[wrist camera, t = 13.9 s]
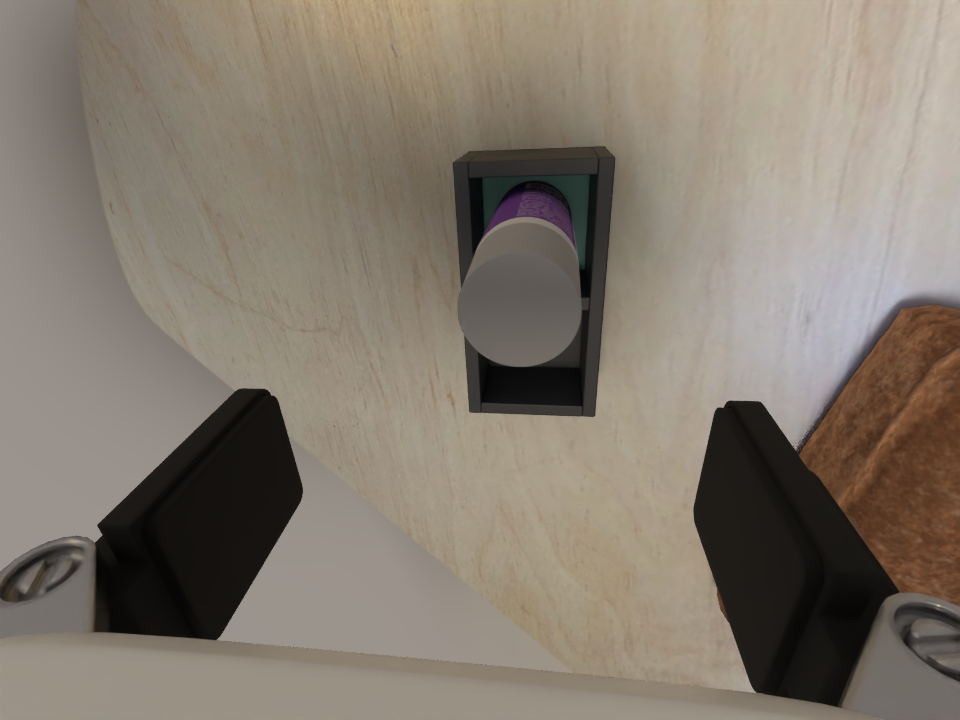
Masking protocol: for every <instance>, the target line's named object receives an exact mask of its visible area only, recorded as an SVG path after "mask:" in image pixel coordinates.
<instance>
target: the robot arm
mask: <svg viewBox="0 0 960 720" xmlns="http://www.w3.org/2000/svg"><path fill="white" fill-rule="evenodd" d="M302 494H303V488H302V483H301V479H300V476H299V472H298V469H297V466H296V462H295V458H294V455H293V451H292V448H291V444H290V441H289V437H288V434H287V430H286V427H285V423H284V420H283V416H282V413H281V409H280V406H279V402H278V400H277V398H276V397H275V396H271V394H270V392H269V391H268V390H266V389H238V390H237V391H235V392H234V393H233V394H232V395H231V396H230V397H229V398H228V399H227V400H226V401H225V402H224V403H223V404H222V405H221V406H220V407H219V408H218V409H217V410H216V411H215V412H214V413H213V414H211V415H210V416H209V417H208V418H207V419H206V420H205V421H204V422H203V423H202V424H201V425H200V426H199V427H198V428H197V429H196V430H195V431H194V432H193V433H192V434H191V435H190V436H189V437H188V438H187V439H186V440H185V441H184V442H183V443H182V444H181V445H179V447H177V448H176V449H175V450H174V451H173V452H172V453H171V454H170V455H169V456H168V457H167V458H166V459H165V460H164V461H163V462H162V463H161V464H160V465H159V466H158V467H157V468H156V469H155V470H154V471H153V472H152V473H151V474H149V475H148V476H147V477H146V478H145V479H144V480H143V481H142V482H141V483H140V484H139V485H138V486H137V487H136V488H135V489H134V490H133V491H132V492H131V493H130V494H129V495H128V496H127V497H126V498H125V499H124V500H123V501H122V502H121V503H120V504H118V505H117V506H116V507H115V508H114V509H113V510H112V511H111V512H110V513H109V514H108V515H107V516H106V517H105V518H104V519H103V520H102V521H101V522H100V523H99V524H98V525H97V526H98V528H99V529H100V531H101V533H102V537H100V538H99V539H98V541H96V542H95V543H94V542H93V541H92V540H90V539H89V538H87V537H81V536H71V537H63V538H59V539H57V540H53V541H49V542H47V543H44V544H42V545H40V546H38V547H36V548H33V549H31V550H30V551H28V552H26V553H25V554H23V555H21V556H20V557H18V558H17V559H15V560H14V561H13V562H11V563H10V564H9V565H8V566H6V567H5V568H4V569H3V570H2V571H1V572H0V720H960V607H959V606H957V605H954V604H952V603H949V602H947V601H944V600H942V599H940V598H937V597H934V596H929V595H925V594H920V593H900V591H899V590H898V588H897V587H896V586H895V584H894V583H893V581H892V580H891V578H890V577H889V576H888V574H887V573H886V571H885V570H884V569H883V567H882V566H881V564H880V563H879V562H878V560H877V559H876V557H875V556H874V555H873V553H872V552H871V550H870V549H869V548H868V546H867V545H866V543H865V542H864V540H863V539H862V538H861V536H860V535H859V533H858V532H857V531H856V529H855V528H854V526H853V525H852V524H851V522H850V521H849V519H848V518H847V517H846V515H845V514H844V512H843V511H842V509H841V508H840V507H839V505H838V504H837V502H836V501H835V500H834V498H833V497H832V495H831V494H830V493H829V491H828V490H827V488H826V487H825V486H824V484H823V483H822V481H821V480H820V478H819V477H818V476H817V475H816V474H815V473H814V472H812V471H810V470H808V468H807V467H806V465H805V464H804V462H803V461H802V459H801V458H800V457H799V455H798V454H797V452H796V451H795V449H794V448H793V447H792V445H791V444H790V442H789V441H788V439H787V438H786V437H785V435H784V434H783V432H782V431H781V429H780V428H779V427H778V425H777V424H776V422H775V421H774V419H773V418H772V416H771V415H770V414H769V412H768V411H767V409H766V408H765V406H764V405H763V404H762V403H761V402H758V401H728V402H727V403H726V404H725V406H724V408H717V409H716V411H715V413H714V417H713V422H712V426H711V431H710V435H709V440H708V445H707V449H706V454H705V458H704V463H703V467H702V472H701V476H700V481H699V485H698V490H697V494H696V499H695V503H694V521H695V525H696V528H697V531H698V534H699V537H700V540H701V543H702V545H703V548H704V551H705V554H706V557H707V560H708V563H709V566H710V568H711V571H712V574H713V577H714V580H715V583H716V586H717V589H718V592H719V594H720V597H721V600H722V603H723V606H724V609H725V612H726V615H727V617H728V620H729V623H730V626H731V629H732V632H733V635H734V638H735V640H736V643H737V646H738V649H739V652H740V655H741V658H742V661H743V664H744V666H745V669H746V672H747V675H748V678H749V681H750V683H751V686H752V688H753V689H754V691H755V692H757V693H749V692H741V691H732V690H724V689H715V688H706V687H698V686H689V685H681V684H672V683H663V682H655V681H645V680H635V679H624V678H614V677H604V676H594V675H584V674H574V673H564V672H553V671H543V670H533V669H523V668H513V667H503V666H493V665H482V664H471V663H460V662H450V661H439V660H428V659H418V658H408V657H396V656H386V655H375V654H364V653H353V652H342V651H332V650H320V649H309V648H297V647H286V646H275V645H264V644H252V643H240V642H229V641H218V640H217V639H218V638H219V637H220V636H221V634H222V633H223V631H224V629H225V628H226V626H227V624H228V623H229V621H230V619H231V618H232V616H233V614H234V612H235V611H236V609H237V608H238V606H239V604H240V603H241V601H242V599H243V598H244V596H245V594H246V592H247V591H248V589H249V587H250V585H251V584H252V582H253V581H254V579H255V577H256V576H257V574H258V572H259V571H260V569H261V567H262V566H263V564H264V562H265V561H266V559H267V557H268V556H269V554H270V552H271V550H272V549H273V547H274V545H275V544H276V542H277V540H278V539H279V537H280V535H281V533H282V532H283V530H284V529H285V527H286V525H287V524H288V522H289V520H290V519H291V517H292V515H293V514H294V512H295V510H296V509H297V507H298V505H299V503H300V501H301V498H302ZM758 693H763V694H758Z"/></svg>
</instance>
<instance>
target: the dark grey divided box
mask: <svg viewBox="0 0 960 720" xmlns="http://www.w3.org/2000/svg"><path fill="white" fill-rule="evenodd" d="M614 170H615V157H614V156H613V155H612V154H611V153H610V152H609V151H608V150H607V149H606V147H604V146H603V147H576V148H548V149H521V150H493V151H469V152H468V153H466V154H465V155H463V156H462V157H460V158H459V159H457V160H456V161H455V162H453V173H454V188H455V203H456V218H457V233H458V248H459V264H460V279H461V288H462V286H463V283H464V281H465V278H466V275H467V273H468V270H469V268H470V265H471V263H472V260H473V258H474V255H475V252H476V249H477V247H478V245H479V243H480V241H481V239H482V237H483V235H484V233H485V231H486V229H487V227H488V225H489V223H490V221H491V219H492V217H493V215H494V213H495V211H496V209H497V207H498V205H499V203H500V201H501V199H502V198H503V196H504V195H505V194H506V193H507V192H508V191H509V190H510V189H511V188H512V187H514V186H516V185H517V184H519V183H522V182H525V181H532V180H537V181H543V182H547V183H549V184H551V185H553V186H555V187H556V188H557V189H559V190H560V191H561V192H562V194H563V195H564V196H565V198H566V199H567V201H568V204H569V207H570V210H571V216H572V222H573V228H574V235H575V241H576V247H577V253H578V260H579V275H580V290H581V305H582V315H581V322H580V326H579V329H578V331H577V333H576V335H575V337H574V339H573V340H572V342H571V343H570V344H569V346H568V347H567V348H566V349H565V350H564V351H563V352H562V353H560V354H559V355H558V356H556V357H555V358H553V359H551V360H549V361H547V362H545V363H542V364H539V365H534V366H529V367H513V366H507V365H503V364H499V363H497V362H494V361H492V360H490V359H488V358H486V357H485V356H483V355H482V354H481V353H479V352H478V351H477V350H476V349H475V348H474V347H473V346H472V345H471V344H470V343H469V341H468V340H467V338H466V337H465V335H464V339H465V354H466V369H467V384H468V399H469V412H472V413H481V412H482V413H503V414H530V415H557V416H582V415H583V416H587V417H594V416H595V409H596V397H597V384H598V371H599V359H600V346H601V334H602V321H603V308H604V296H605V283H606V270H607V258H608V245H609V233H610V220H611V207H612V195H613V182H614Z"/></svg>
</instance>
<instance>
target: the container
mask: <svg viewBox="0 0 960 720" xmlns="http://www.w3.org/2000/svg"><path fill="white" fill-rule="evenodd" d="M581 315H582V305H581V290H580V275H579V260H578V253H577V247H576V241H575V235H574V228H573V222H572V216H571V210H570V207H569V204H568V201H567V199H566V198H565V196H564V195H563V194H562V192H561V191H560V190H559V189H557V188H556V187H555V186H553V185H551V184H549V183H547V182H543V181H537V180H532V181H525V182H522V183H519V184H517V185H516V186H514V187H512V188H511V189H510V190H509V191H508V192H507V193H506V194H505V195H504V196H503V198H502V199H501V201H500V203H499V205H498V207H497V209H496V211H495V213H494V215H493V217H492V219H491V221H490V223H489V225H488V227H487V229H486V231H485V233H484V235H483V237H482V239H481V241H480V243H479V245H478V247H477V249H476V252H475V255H474V258H473V260H472V263H471V265H470V268H469V270H468V273H467V275H466V278H465V281H464V283H463V286H462V288H461V291H460V294H459V298H458V319H459V323H460V326H461V329H462V331H463V333H464V335H465V337H466V338H467V340H468V341H469V343H470V344H471V345H472V346H473V347H474V348H475V349H476V350H477V351H478V352H479V353H481V354H482V355H483V356H485V357H486V358H488V359H490V360H492V361H494V362H497V363H499V364H503V365H507V366H513V367H529V366H534V365H539V364H542V363H545V362H547V361H549V360H551V359H553V358H555V357H556V356H558V355H559V354H560V353H562V352H563V351H564V350H565V349H566V348H567V347H568V346H569V344H570V343H571V342H572V340H573V339H574V337H575V335H576V333H577V331H578V329H579V326H580V322H581Z"/></svg>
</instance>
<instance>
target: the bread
mask: <svg viewBox="0 0 960 720" xmlns="http://www.w3.org/2000/svg"><path fill="white" fill-rule="evenodd" d="M799 457H800V458H801V459H802V461H803V462H804V464H805V465H806V467H807V468H808V470H810V471H812V472H814V473H815V474H816V475H817V476H818V477H819V478H820V480H821V481H822V483H823V484H824V486H825V487H826V488H827V490H828V491H829V493H830V494H831V495H832V497H833V498H834V500H835V501H836V502H837V504H838V505H839V507H840V508H841V509H842V511H843V512H844V514H845V515H846V517H847V518H848V519H849V521H850V522H851V524H852V525H853V526H854V528H855V529H856V531H857V532H858V533H859V535H860V536H861V538H862V539H863V540H864V542H865V543H866V545H867V546H868V548H869V549H870V550H871V552H872V553H873V555H874V556H875V557H876V559H877V560H878V562H879V563H880V564H881V566H882V567H883V569H884V570H885V571H886V573H887V574H888V576H889V577H890V578H891V580H892V581H893V583H894V584H895V586H896V587H897V588H898V590H899V591H900V593H920V594H925V595H929V596H934V597H937V598H940V599H942V600H944V601H947V602H949V603H952V604H954V605H957V606H959V607H960V310H959V309H955V308H950V307H945V306H940V305H935V304H933V305H926V306H920V307H913V308H907V309H902V310H901V311H900V313H899V314H898V316H897V317H896V319H895V320H894V322H893V323H892V325H891V326H890V327H889V329H888V330H887V331H886V332H885V334H884V335H883V336H882V337H881V339H880V340H879V341H878V342H877V344H876V345H875V346H874V348H873V349H872V351H871V352H870V353H869V355H868V356H867V357H866V359H865V360H864V361H863V363H862V364H861V365H860V367H859V368H858V369H857V371H856V372H855V374H854V375H853V376H852V378H851V379H850V380H849V382H848V383H847V385H846V386H845V388H844V389H843V391H842V392H841V394H840V395H839V397H838V398H837V400H836V402H835V403H834V404H833V406H832V407H831V409H830V410H829V412H828V413H827V415H826V416H825V418H824V419H823V421H822V422H821V424H820V425H819V426H818V428H817V429H816V431H815V432H814V433H813V435H812V436H811V437H810V439H809V440H808V441H807V443H806V444H805V446H804V448H803V449H802V451H801V453H800V454H799ZM717 596H718V601H719V605H720V609H721V611H722V613H723V614H724V616H725V618H726V619H727V621H728V622H729V620H728V617H727V615H726V612H725V609H724V606H723V603H722V600H721V597H720V594H719V592H718V589H717Z"/></svg>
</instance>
